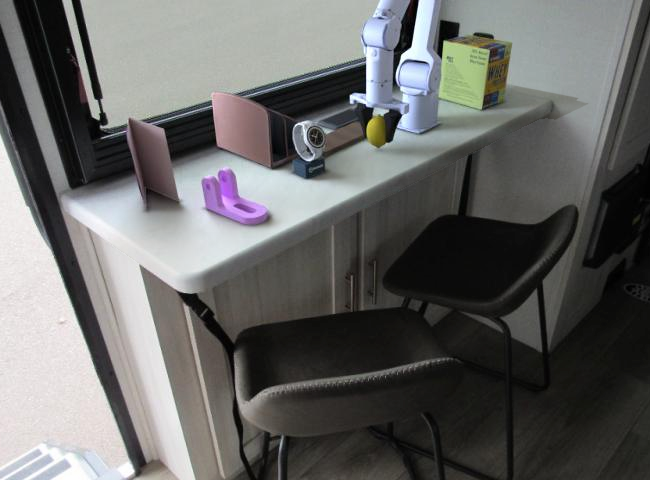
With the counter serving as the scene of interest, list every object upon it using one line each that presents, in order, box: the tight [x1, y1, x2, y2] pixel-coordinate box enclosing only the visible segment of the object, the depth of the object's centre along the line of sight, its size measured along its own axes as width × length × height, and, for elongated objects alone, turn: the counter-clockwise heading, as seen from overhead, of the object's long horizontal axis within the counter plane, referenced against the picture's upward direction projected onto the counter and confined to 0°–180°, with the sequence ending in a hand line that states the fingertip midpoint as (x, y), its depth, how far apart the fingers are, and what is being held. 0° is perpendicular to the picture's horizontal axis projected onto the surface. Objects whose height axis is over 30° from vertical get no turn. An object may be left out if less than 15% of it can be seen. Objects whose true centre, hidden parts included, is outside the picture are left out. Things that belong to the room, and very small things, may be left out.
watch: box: [292, 120, 327, 180], centre depth 121 cm, size 6×8×11 cm
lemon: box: [366, 113, 387, 149], centre depth 131 cm, size 6×6×8 cm
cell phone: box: [317, 107, 360, 131], centre depth 150 cm, size 7×14×1 cm, turn 138°
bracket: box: [201, 167, 268, 226], centre depth 109 cm, size 13×6×7 cm, turn 52°
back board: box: [304, 121, 365, 157], centre depth 139 cm, size 20×8×1 cm, turn 138°
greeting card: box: [124, 116, 180, 210], centre depth 113 cm, size 11×7×15 cm, turn 16°
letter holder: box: [211, 91, 301, 170], centre depth 131 cm, size 10×20×14 cm, turn 47°
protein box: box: [438, 34, 513, 111], centre depth 157 cm, size 10×15×16 cm
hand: (378, 139), depth 132 cm, fingers closed on lemon, 5 cm apart
